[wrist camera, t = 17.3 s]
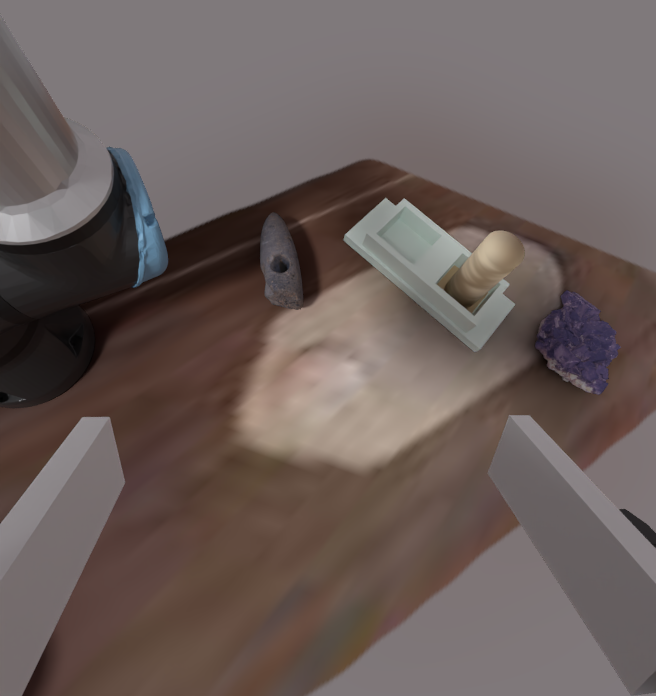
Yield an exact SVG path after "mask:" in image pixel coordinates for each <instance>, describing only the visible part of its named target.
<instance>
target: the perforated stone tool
mask: <svg viewBox="0 0 656 696" xmlns="http://www.w3.org/2000/svg"><path fill="white" fill-rule="evenodd" d="M260 264H261V270H262V271H263V274H264V276H265V281H266V286H265V297H266V298H267V299H269V300H270V302H271V303H272V304H273V305H277V306H281V307H286V308H289V309H296V310H298V309H301V308H302V306H303V289H302V279H301V272H300V266H299V261H298V257H297V252H296V249H295V245H294V242H293V240H292V237H291V235H290V232H289V230H288V228H287V226H286V224H285V222H284V221H283V219H282V218H281V217H280V216H279V215H278V214H276V213H275V212H273V213H271V214H270V215H269V216H268V217H267V218H266V220H265V222H264V225H263V228H262V232H261V241H260Z"/></svg>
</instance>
